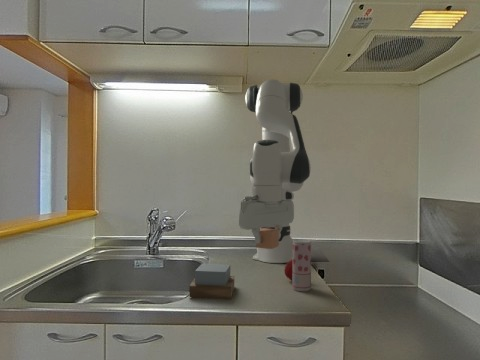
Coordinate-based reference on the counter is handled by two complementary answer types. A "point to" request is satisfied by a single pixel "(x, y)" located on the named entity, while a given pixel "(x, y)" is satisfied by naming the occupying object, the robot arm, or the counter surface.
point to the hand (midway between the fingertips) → (267, 241)
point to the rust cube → (269, 238)
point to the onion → (289, 269)
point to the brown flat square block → (212, 290)
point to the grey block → (212, 274)
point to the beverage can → (301, 265)
